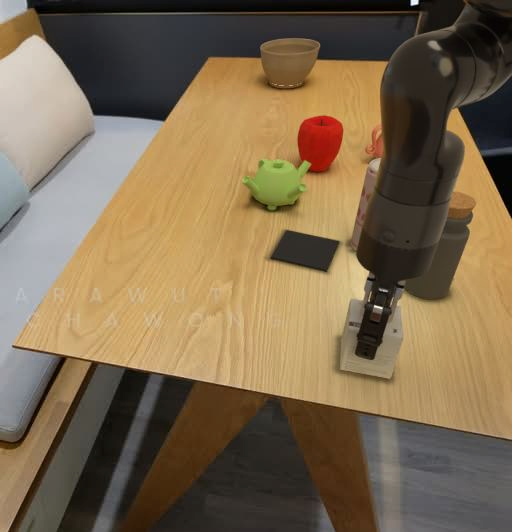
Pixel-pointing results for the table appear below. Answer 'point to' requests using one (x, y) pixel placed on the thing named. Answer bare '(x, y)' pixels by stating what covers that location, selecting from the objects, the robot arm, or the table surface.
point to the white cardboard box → (385, 352)
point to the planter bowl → (288, 60)
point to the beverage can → (364, 200)
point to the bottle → (446, 250)
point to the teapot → (277, 182)
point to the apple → (319, 141)
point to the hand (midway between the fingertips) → (369, 337)
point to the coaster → (305, 250)
